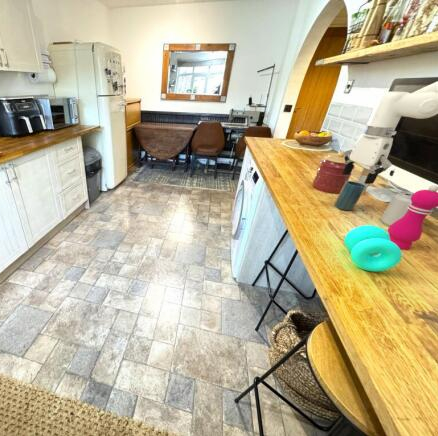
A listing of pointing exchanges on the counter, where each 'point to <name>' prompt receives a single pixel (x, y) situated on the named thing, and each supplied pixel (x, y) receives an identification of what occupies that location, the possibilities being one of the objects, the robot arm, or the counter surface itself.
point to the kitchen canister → (331, 174)
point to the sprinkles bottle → (364, 176)
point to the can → (397, 207)
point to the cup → (349, 195)
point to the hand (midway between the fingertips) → (356, 178)
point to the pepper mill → (413, 218)
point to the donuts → (372, 248)
